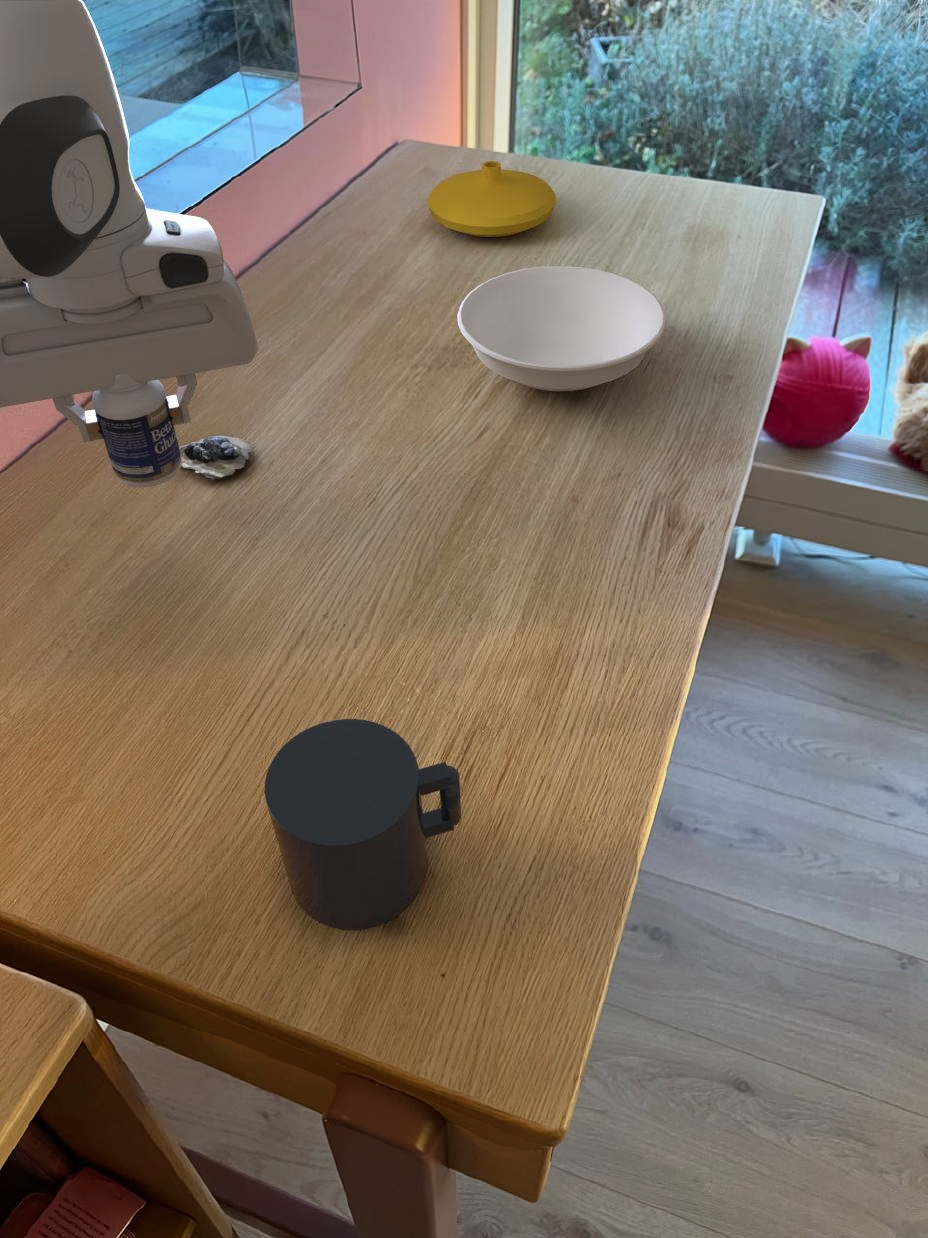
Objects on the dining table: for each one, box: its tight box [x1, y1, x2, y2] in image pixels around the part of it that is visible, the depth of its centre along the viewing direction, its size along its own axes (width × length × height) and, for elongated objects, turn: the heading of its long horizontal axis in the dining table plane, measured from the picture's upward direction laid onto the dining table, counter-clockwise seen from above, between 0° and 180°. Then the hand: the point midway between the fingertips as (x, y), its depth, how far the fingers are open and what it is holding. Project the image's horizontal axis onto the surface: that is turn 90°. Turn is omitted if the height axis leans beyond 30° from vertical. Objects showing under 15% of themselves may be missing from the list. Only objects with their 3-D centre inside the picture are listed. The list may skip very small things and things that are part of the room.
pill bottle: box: [91, 374, 182, 488], centre depth 77 cm, size 5×5×10 cm
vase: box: [427, 160, 557, 238], centre depth 122 cm, size 16×16×7 cm
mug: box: [264, 718, 462, 931], centre depth 58 cm, size 11×8×9 cm
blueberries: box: [179, 435, 257, 481], centre depth 90 cm, size 7×8×2 cm
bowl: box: [456, 265, 667, 392], centre depth 97 cm, size 20×20×6 cm
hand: (138, 428), depth 78 cm, fingers closed on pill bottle, 5 cm apart
